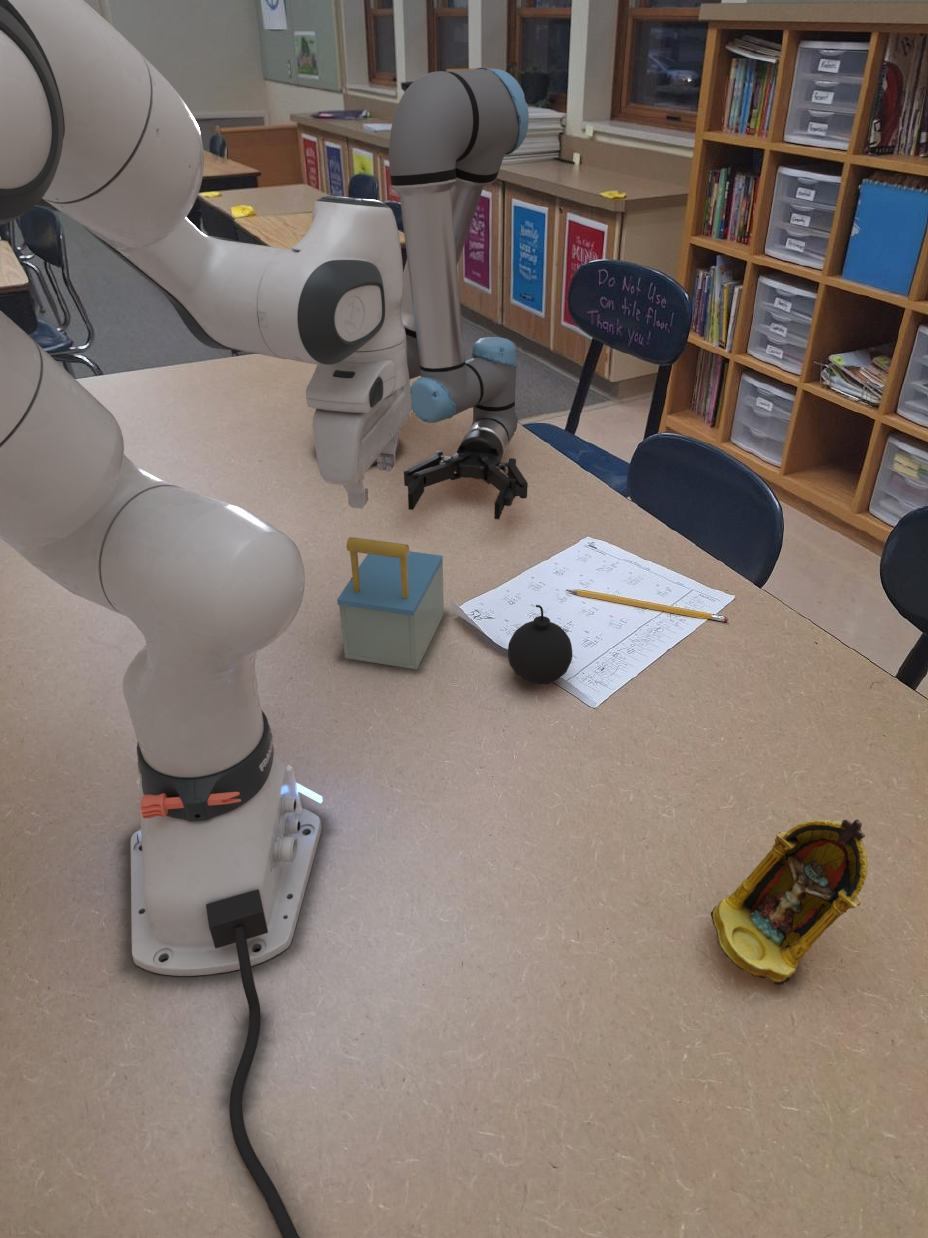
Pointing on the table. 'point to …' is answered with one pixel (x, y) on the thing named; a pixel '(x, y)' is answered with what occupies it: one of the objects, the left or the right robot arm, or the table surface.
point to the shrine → (792, 897)
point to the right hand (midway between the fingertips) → (453, 506)
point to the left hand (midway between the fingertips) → (373, 486)
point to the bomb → (540, 651)
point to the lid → (388, 576)
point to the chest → (393, 630)
